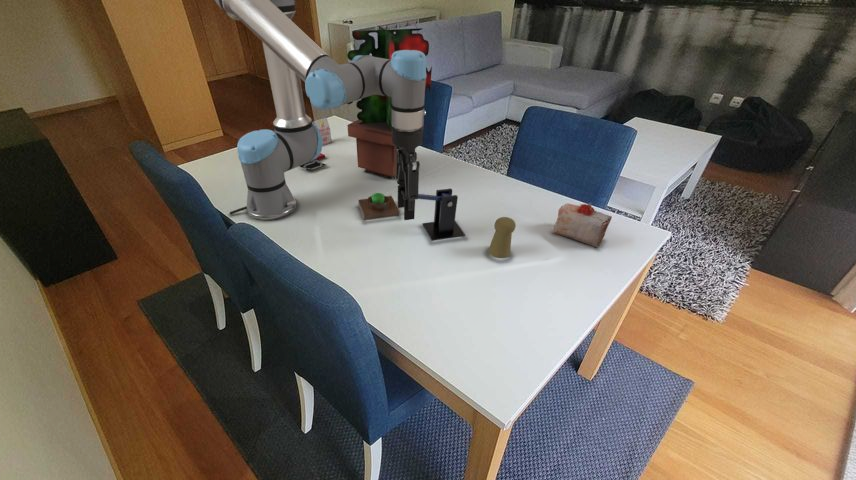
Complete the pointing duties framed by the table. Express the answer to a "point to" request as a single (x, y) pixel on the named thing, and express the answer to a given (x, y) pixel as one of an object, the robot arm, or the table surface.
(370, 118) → the potted plant
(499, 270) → the table surface
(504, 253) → the tan pawn
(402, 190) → the lever
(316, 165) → the red board with handle
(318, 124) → the white cardboard box
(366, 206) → the switch block
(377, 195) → the green button
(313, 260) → the table surface
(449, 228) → the lever bracket
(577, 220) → the food item
